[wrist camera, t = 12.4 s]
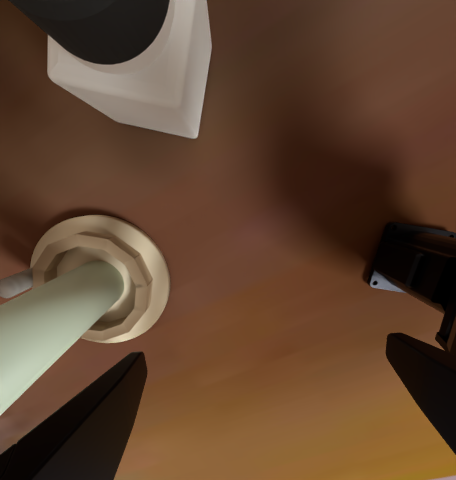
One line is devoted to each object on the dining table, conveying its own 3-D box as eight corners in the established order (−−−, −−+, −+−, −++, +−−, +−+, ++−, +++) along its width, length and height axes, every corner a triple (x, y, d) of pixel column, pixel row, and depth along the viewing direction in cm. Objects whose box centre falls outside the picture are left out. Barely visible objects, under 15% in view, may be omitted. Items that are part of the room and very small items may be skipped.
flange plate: (177, 226, 20) (164, 235, 16) (164, 344, 23) (150, 375, 19) (35, 203, 19) (-13, 207, 15) (40, 326, 22) (0, 355, 18)
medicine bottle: (212, 45, 17) (177, -302, 5) (197, 140, 18) (143, 47, 7) (122, 23, 16) (-142, -401, 5) (115, 122, 18) (-99, -9, 6)
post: (132, 274, 20) (19, 371, 9) (113, 312, 21) (-10, 441, 10) (86, 251, 19) (-91, 325, 9) (68, 291, 20) (-111, 403, 10)
